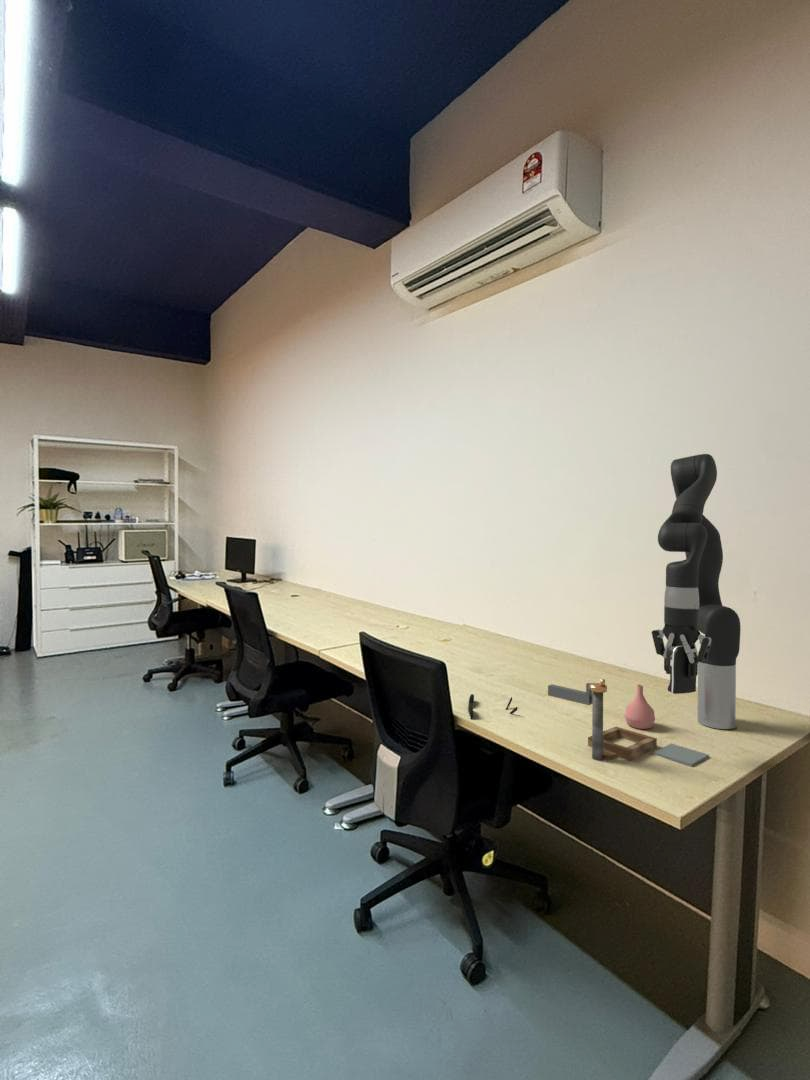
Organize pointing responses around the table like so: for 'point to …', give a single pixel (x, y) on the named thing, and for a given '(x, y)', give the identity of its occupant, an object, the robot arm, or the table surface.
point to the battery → (679, 671)
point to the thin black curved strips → (470, 707)
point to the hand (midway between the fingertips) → (680, 675)
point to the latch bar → (577, 692)
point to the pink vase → (640, 712)
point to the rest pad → (681, 754)
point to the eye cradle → (612, 750)
